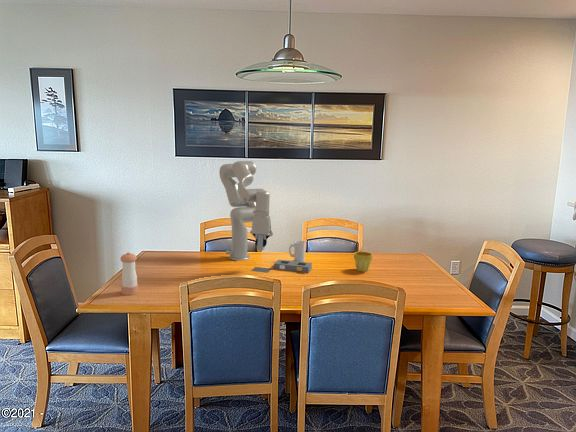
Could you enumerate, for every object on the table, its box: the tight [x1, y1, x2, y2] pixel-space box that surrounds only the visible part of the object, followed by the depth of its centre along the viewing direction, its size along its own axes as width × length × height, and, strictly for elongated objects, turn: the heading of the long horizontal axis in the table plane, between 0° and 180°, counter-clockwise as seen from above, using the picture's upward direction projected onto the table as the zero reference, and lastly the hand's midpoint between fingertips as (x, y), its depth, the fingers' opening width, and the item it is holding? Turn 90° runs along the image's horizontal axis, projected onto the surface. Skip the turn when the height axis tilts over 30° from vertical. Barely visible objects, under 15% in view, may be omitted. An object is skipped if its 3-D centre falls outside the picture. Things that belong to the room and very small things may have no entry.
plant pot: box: [353, 250, 373, 273], centre depth 239 cm, size 10×10×10 cm
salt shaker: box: [120, 252, 139, 296], centre depth 193 cm, size 7×7×19 cm
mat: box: [250, 266, 272, 273], centre depth 234 cm, size 10×8×1 cm
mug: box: [288, 240, 306, 262], centre depth 253 cm, size 10×7×12 cm, turn 89°
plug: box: [256, 234, 266, 252], centre depth 232 cm, size 3×3×10 cm
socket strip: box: [273, 259, 313, 274], centre depth 237 cm, size 20×9×4 cm, turn 74°
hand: (261, 245), depth 232 cm, fingers closed on plug, 3 cm apart
